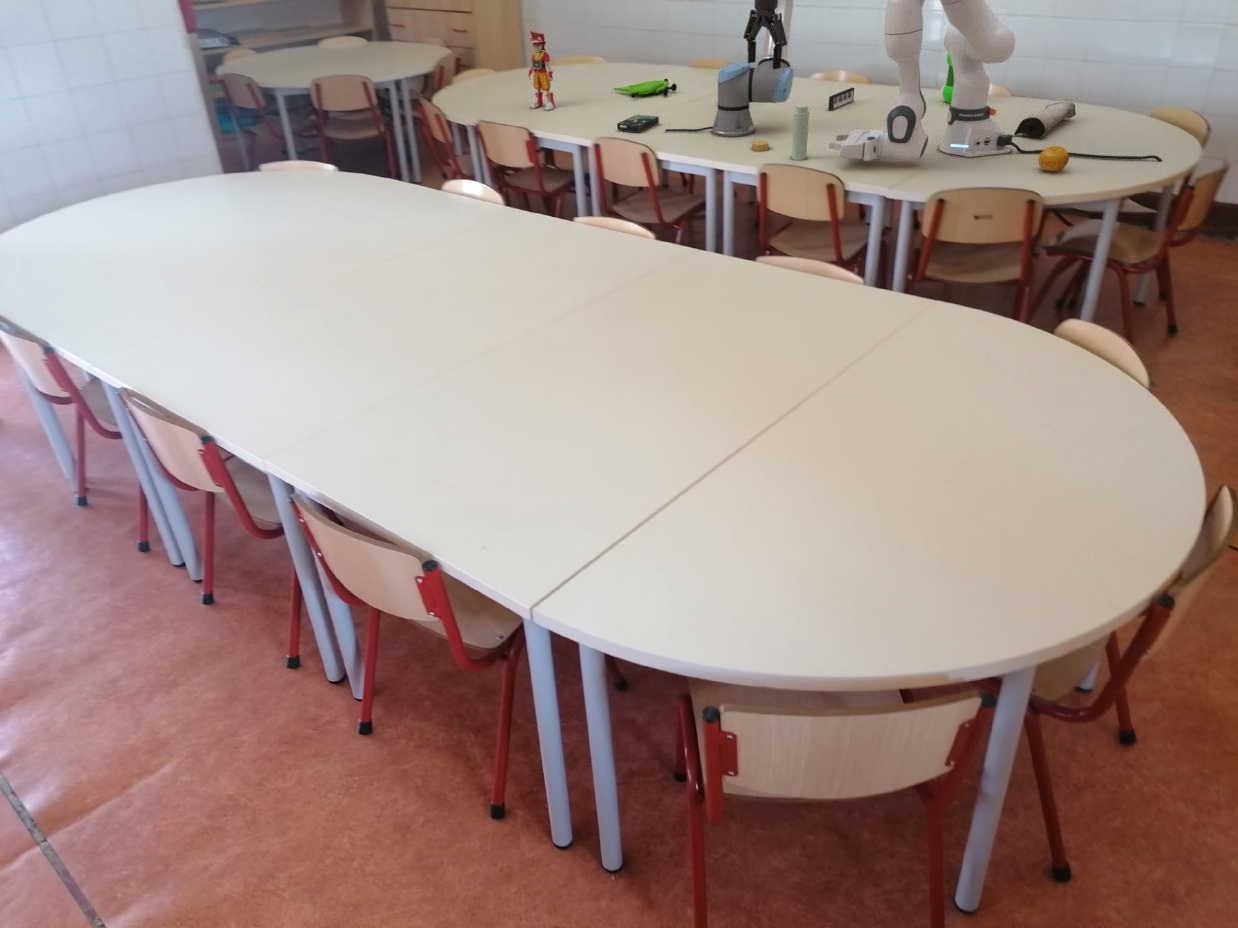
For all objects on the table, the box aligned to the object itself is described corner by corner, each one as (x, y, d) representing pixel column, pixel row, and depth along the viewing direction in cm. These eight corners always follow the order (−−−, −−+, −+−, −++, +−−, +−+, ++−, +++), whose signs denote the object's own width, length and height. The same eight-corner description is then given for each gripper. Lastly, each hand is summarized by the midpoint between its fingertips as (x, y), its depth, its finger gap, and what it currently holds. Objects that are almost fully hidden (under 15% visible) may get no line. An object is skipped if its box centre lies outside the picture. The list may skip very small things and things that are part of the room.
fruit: (1033, 161, 277) (1052, 138, 274) (1031, 164, 284) (1049, 141, 281) (1057, 177, 275) (1075, 153, 272) (1054, 179, 283) (1072, 156, 280)
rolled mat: (1043, 107, 330) (1067, 89, 322) (1056, 128, 330) (1081, 111, 322) (1009, 129, 312) (1034, 111, 304) (1024, 151, 313) (1049, 134, 305)
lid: (757, 146, 320) (757, 139, 318) (771, 147, 317) (771, 141, 315) (749, 150, 316) (749, 143, 315) (763, 151, 313) (763, 145, 312)
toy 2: (686, 85, 398) (631, 84, 414) (685, 72, 395) (629, 72, 411) (651, 104, 381) (596, 103, 397) (650, 92, 378) (594, 91, 394)
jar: (809, 158, 304) (812, 106, 295) (797, 161, 302) (800, 108, 293) (800, 155, 308) (803, 103, 298) (788, 157, 306) (791, 106, 296)
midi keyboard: (831, 110, 354) (832, 97, 351) (828, 110, 355) (829, 96, 352) (853, 101, 364) (854, 88, 361) (850, 100, 365) (851, 87, 362)
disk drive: (640, 133, 341) (659, 123, 351) (639, 126, 339) (659, 116, 349) (617, 131, 346) (636, 121, 356) (616, 123, 344) (636, 113, 354)
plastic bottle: (973, 101, 354) (984, 32, 339) (955, 106, 349) (966, 36, 335) (952, 97, 361) (962, 29, 346) (934, 102, 356) (944, 33, 342)
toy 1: (525, 109, 381) (517, 32, 364) (534, 104, 388) (527, 28, 371) (550, 110, 377) (543, 32, 360) (559, 105, 384) (553, 28, 367)
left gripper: (734, -7, 297) (732, 61, 309) (781, 0, 278) (778, 73, 290) (752, -10, 299) (750, 58, 311) (800, -3, 281) (796, 69, 293)
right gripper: (883, 126, 298) (841, 123, 303) (869, 142, 283) (826, 139, 288) (880, 145, 302) (840, 142, 307) (867, 162, 287) (824, 159, 292)
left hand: (763, 65), depth 301 cm, fingers open, 13 cm apart
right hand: (833, 141), depth 297 cm, fingers open, 8 cm apart
